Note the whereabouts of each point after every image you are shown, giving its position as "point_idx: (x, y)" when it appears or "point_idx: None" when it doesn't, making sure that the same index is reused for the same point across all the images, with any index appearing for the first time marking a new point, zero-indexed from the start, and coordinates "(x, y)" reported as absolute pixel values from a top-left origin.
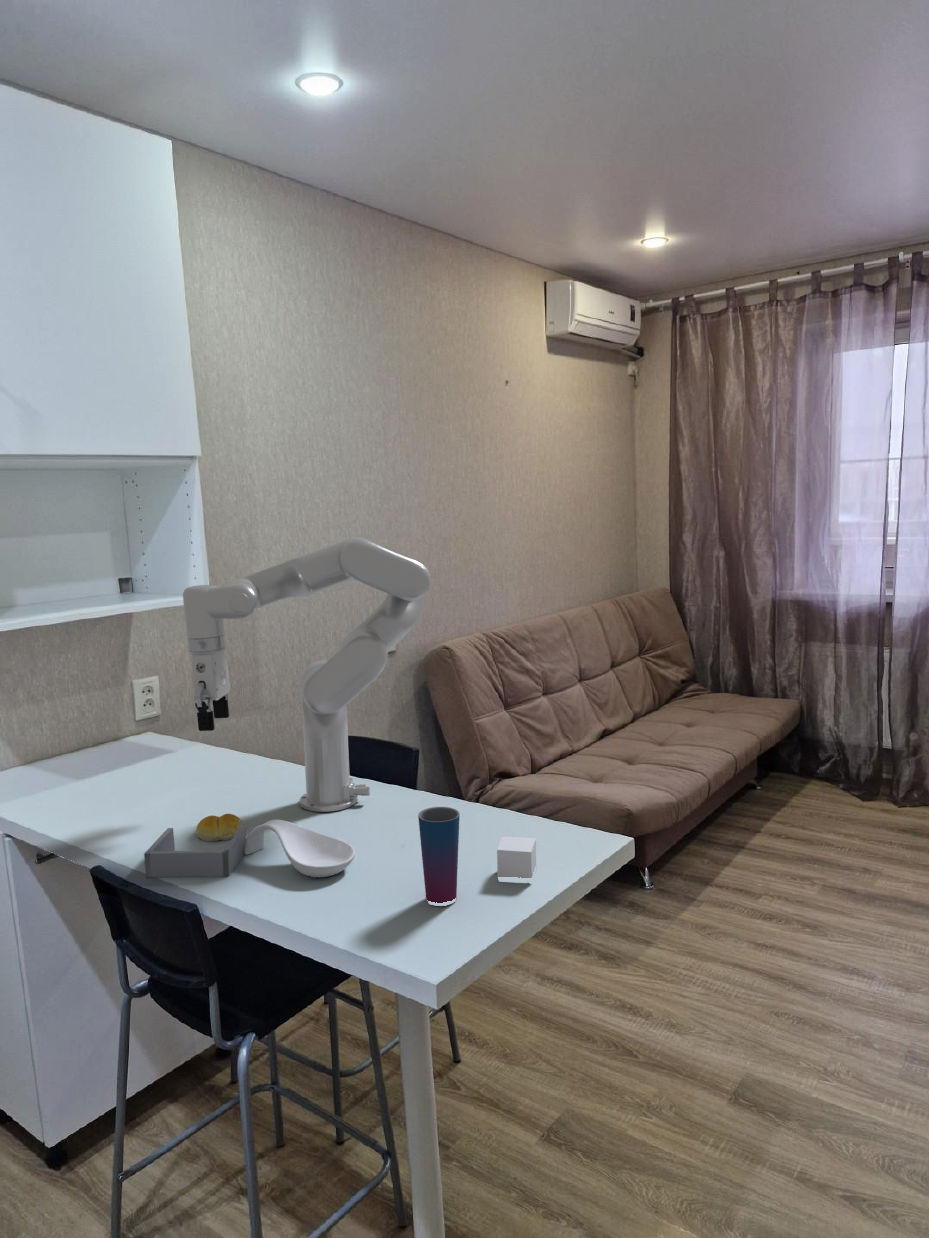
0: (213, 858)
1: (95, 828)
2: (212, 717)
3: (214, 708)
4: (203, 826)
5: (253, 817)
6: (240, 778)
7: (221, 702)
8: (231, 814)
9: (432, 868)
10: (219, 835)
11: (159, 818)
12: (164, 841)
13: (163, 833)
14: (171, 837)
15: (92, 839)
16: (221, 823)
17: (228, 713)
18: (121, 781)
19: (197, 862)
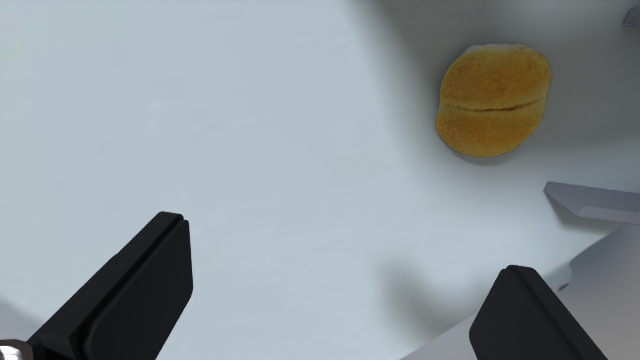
0: None
1: (378, 321)
2: (602, 356)
3: (156, 349)
4: (522, 140)
5: (393, 26)
6: (95, 109)
7: (112, 356)
8: (498, 75)
9: None
10: (546, 94)
11: (351, 238)
12: (636, 208)
13: (611, 219)
14: (584, 198)
15: (430, 316)
16: (531, 95)
17: (159, 226)
18: None
19: None
